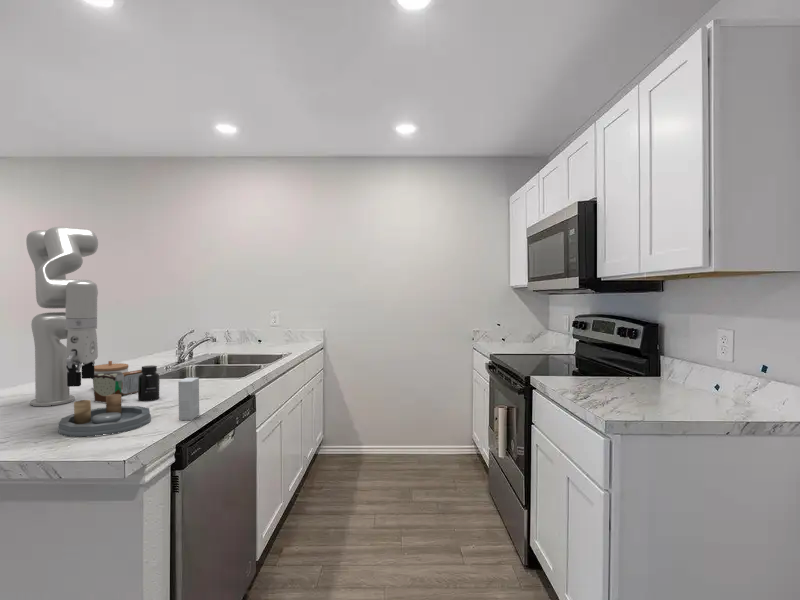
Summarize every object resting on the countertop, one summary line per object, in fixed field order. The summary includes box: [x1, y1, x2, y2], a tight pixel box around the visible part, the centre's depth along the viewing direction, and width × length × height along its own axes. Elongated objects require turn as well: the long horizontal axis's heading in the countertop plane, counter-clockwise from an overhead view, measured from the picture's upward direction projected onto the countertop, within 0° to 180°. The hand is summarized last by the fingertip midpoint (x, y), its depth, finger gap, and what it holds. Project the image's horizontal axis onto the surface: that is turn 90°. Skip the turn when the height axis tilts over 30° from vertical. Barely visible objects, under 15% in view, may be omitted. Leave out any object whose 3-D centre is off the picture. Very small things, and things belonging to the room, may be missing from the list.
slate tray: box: [57, 405, 152, 438], centre depth 133 cm, size 23×23×3 cm
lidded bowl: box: [94, 360, 129, 373], centre depth 183 cm, size 13×13×11 cm
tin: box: [121, 369, 142, 396], centre depth 175 cm, size 15×3×8 cm, turn 159°
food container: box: [90, 372, 124, 403], centre depth 162 cm, size 12×6×10 cm, turn 71°
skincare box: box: [178, 377, 200, 421], centre depth 141 cm, size 6×4×12 cm
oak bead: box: [73, 399, 92, 424], centre depth 131 cm, size 4×4×6 cm
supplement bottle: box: [137, 365, 161, 402], centre depth 165 cm, size 7×7×12 cm
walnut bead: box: [105, 394, 122, 413], centre depth 139 cm, size 4×4×6 cm
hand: (81, 382), depth 132 cm, fingers open, 9 cm apart
